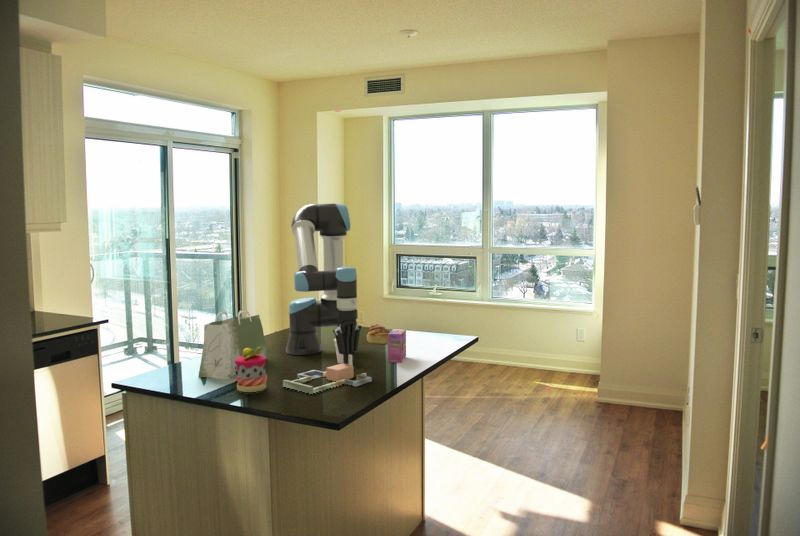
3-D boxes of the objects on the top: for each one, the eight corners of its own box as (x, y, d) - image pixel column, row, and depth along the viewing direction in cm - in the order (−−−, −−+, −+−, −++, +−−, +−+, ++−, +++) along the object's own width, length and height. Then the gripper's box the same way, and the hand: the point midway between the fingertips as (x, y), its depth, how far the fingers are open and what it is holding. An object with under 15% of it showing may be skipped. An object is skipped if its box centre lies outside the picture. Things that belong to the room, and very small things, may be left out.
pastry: (375, 337, 301) (375, 320, 300) (400, 340, 292) (400, 323, 291) (358, 341, 290) (358, 325, 289) (384, 345, 281) (384, 328, 280)
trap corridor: (329, 369, 238) (329, 363, 237) (377, 379, 222) (376, 372, 221) (273, 384, 217) (273, 378, 217) (321, 397, 201) (321, 390, 201)
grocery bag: (237, 358, 260) (235, 303, 258) (268, 359, 256) (266, 304, 254) (196, 377, 228) (194, 316, 226) (230, 379, 225) (228, 317, 223)
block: (326, 379, 223) (326, 367, 223) (342, 375, 229) (341, 363, 229) (338, 382, 219) (337, 370, 219) (353, 377, 225) (353, 365, 225)
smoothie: (337, 365, 244) (336, 330, 243) (331, 361, 250) (331, 327, 249) (352, 363, 247) (351, 328, 246) (346, 359, 253) (345, 326, 252)
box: (401, 362, 246) (401, 333, 245) (387, 362, 247) (387, 333, 246) (406, 357, 256) (406, 329, 255) (393, 356, 258) (392, 328, 257)
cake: (229, 391, 209) (227, 348, 208) (247, 383, 219) (246, 342, 218) (255, 394, 205) (254, 350, 204) (273, 386, 215) (271, 344, 214)
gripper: (341, 312, 218) (343, 377, 220) (366, 307, 228) (367, 369, 230) (327, 310, 223) (328, 373, 225) (352, 305, 233) (353, 366, 235)
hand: (348, 371), depth 228 cm, fingers closed
